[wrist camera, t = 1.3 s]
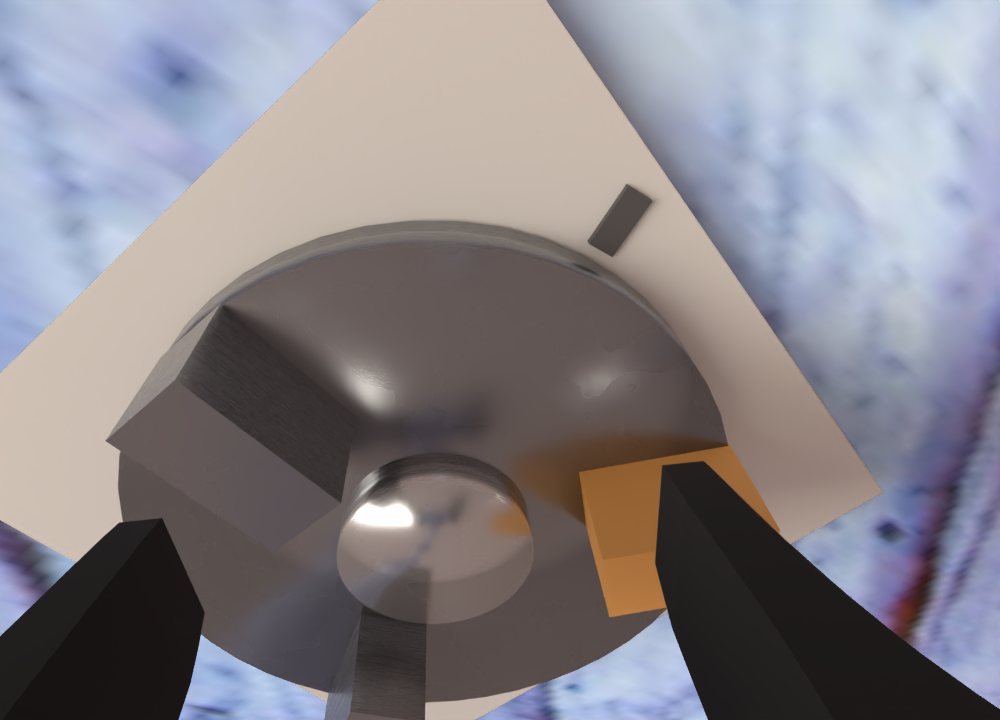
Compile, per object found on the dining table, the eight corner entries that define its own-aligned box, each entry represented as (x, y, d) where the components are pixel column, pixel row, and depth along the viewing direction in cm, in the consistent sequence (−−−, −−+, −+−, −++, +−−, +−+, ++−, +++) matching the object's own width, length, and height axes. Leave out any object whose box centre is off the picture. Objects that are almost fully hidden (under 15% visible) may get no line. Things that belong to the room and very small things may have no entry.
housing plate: (858, 461, 23) (886, 496, 22) (417, 716, 28) (416, 757, 27) (474, -95, 14) (479, -99, 13) (-61, 432, 20) (-100, 471, 18)
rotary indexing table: (802, 494, 21) (885, 619, 17) (419, 715, 26) (416, 854, 22) (467, 66, 14) (479, 113, 10) (15, 474, 18) (-98, 618, 15)
